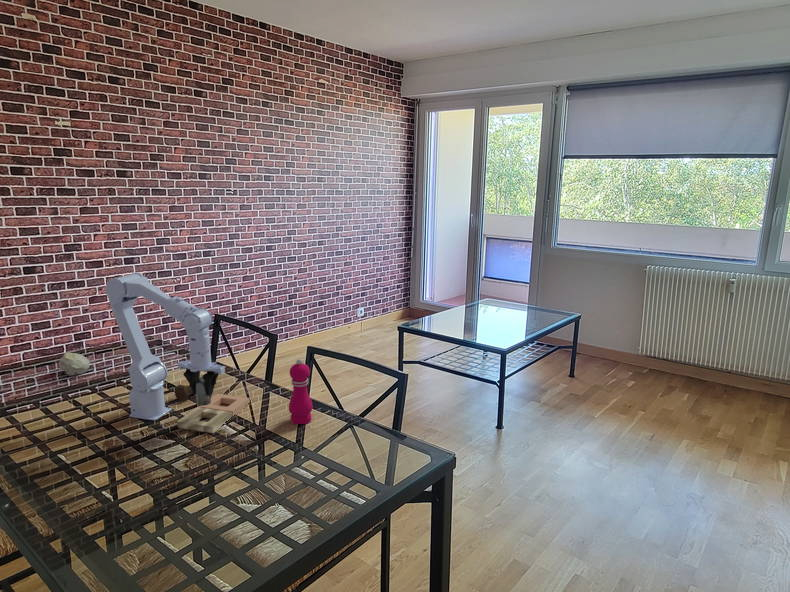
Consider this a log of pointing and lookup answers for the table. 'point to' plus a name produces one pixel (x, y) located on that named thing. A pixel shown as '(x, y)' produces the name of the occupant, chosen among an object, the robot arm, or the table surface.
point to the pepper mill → (300, 394)
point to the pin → (201, 393)
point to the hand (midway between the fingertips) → (203, 393)
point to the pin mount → (211, 426)
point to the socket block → (235, 402)
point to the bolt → (184, 392)
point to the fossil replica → (73, 363)
